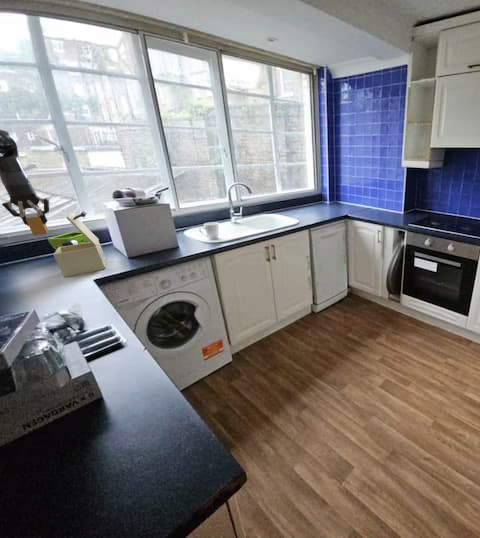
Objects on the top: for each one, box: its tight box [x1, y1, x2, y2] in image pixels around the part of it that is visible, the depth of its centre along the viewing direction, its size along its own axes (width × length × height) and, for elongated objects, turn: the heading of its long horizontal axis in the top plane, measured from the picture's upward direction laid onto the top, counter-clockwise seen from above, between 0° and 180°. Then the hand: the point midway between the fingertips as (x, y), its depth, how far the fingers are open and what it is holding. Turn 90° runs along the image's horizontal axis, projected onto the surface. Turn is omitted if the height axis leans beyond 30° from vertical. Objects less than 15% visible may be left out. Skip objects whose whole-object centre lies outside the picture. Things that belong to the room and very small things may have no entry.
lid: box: [65, 211, 100, 246], centre depth 146 cm, size 16×14×6 cm
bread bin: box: [53, 241, 108, 278], centre depth 148 cm, size 16×14×12 cm
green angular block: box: [47, 231, 90, 251], centre depth 167 cm, size 14×14×13 cm
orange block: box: [25, 211, 50, 237], centre depth 126 cm, size 4×4×9 cm
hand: (37, 224), depth 126 cm, fingers closed on orange block, 4 cm apart
